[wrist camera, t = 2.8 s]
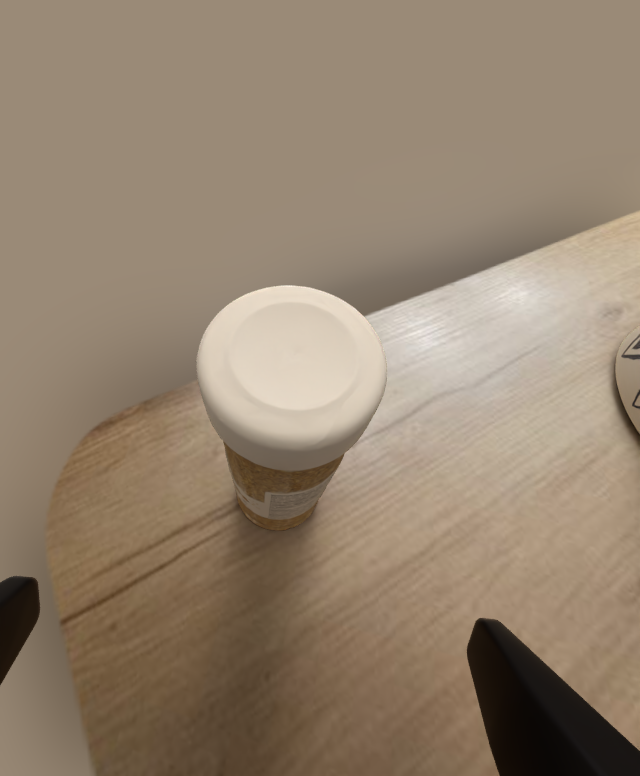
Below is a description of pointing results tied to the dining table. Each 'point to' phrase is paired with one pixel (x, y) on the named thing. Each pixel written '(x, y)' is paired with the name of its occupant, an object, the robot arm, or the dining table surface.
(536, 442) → the dining table surface
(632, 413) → the planter
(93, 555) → the dining table surface
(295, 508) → the sprinkles bottle
